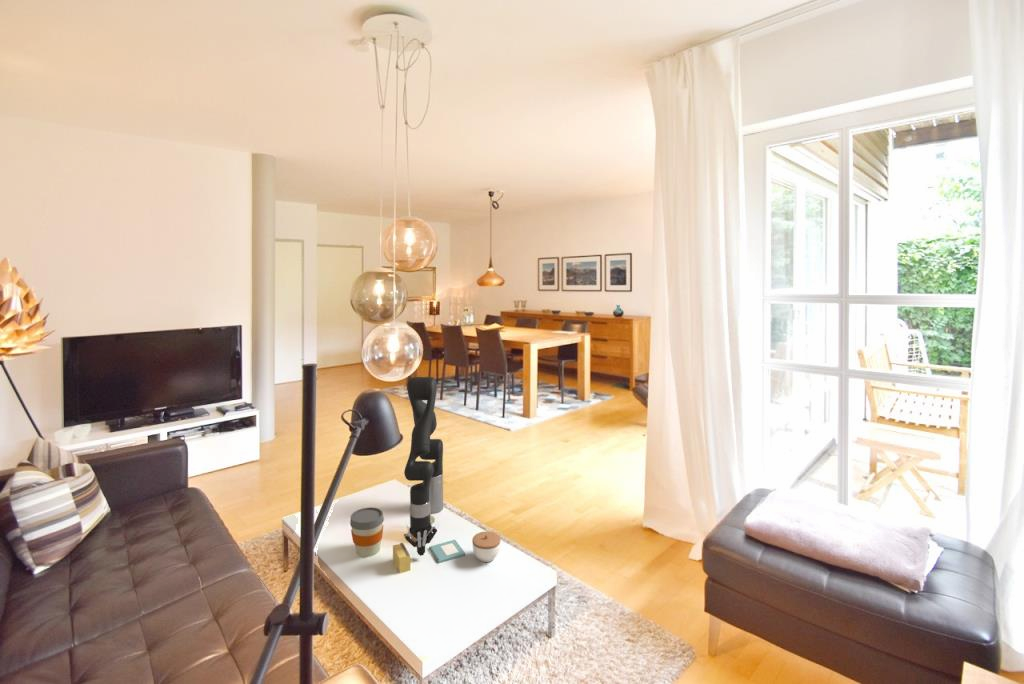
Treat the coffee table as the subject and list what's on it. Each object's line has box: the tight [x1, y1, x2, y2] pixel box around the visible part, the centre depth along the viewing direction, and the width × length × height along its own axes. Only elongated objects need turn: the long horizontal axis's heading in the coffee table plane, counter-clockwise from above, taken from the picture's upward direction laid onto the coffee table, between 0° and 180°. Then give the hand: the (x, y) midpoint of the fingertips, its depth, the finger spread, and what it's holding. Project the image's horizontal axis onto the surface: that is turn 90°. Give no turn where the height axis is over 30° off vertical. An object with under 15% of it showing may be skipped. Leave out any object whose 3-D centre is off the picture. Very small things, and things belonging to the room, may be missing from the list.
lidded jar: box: [471, 531, 501, 563], centre depth 187 cm, size 11×11×9 cm
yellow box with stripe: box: [392, 542, 412, 574], centre depth 182 cm, size 9×4×6 cm, turn 29°
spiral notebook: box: [428, 539, 467, 564], centre depth 191 cm, size 11×11×1 cm
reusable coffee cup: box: [349, 507, 385, 558], centre depth 190 cm, size 13×13×15 cm
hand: (421, 554), depth 186 cm, fingers closed
